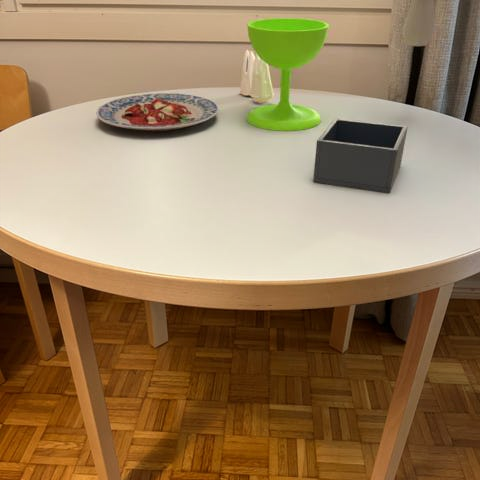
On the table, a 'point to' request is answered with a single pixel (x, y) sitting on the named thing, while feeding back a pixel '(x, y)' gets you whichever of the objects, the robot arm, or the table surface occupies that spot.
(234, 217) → the table surface
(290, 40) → the wineglass
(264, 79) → the shaker set
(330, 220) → the table surface
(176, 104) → the ceramic plate
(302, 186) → the table surface
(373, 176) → the tub
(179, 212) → the table surface
